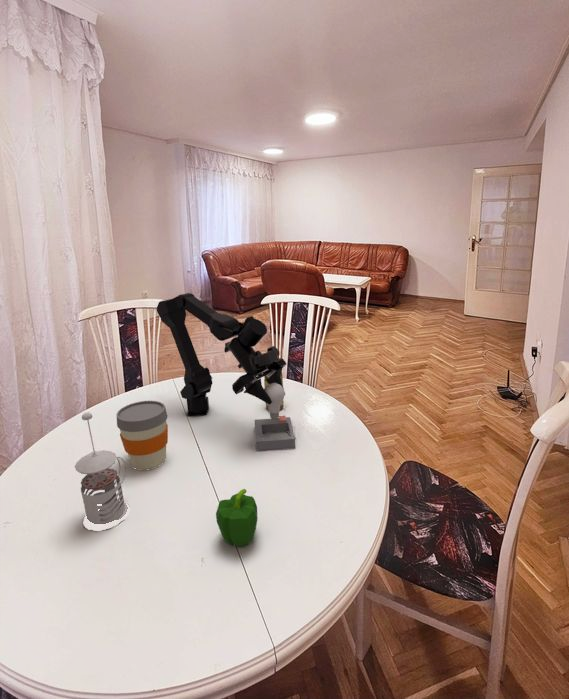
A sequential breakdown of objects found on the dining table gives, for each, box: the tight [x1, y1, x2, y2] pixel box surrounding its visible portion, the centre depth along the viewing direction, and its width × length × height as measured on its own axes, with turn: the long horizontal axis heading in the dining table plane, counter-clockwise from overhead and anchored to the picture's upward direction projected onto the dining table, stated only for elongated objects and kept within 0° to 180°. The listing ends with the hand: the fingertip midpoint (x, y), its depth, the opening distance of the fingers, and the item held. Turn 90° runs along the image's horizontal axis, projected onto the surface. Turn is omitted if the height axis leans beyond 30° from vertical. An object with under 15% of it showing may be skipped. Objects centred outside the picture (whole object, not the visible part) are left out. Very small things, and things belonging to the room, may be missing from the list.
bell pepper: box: [215, 488, 258, 548], centre depth 79 cm, size 8×8×10 cm
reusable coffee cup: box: [116, 400, 169, 471], centre depth 106 cm, size 13×13×15 cm
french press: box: [74, 411, 128, 524], centre depth 85 cm, size 10×12×25 cm
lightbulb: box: [263, 383, 286, 420], centre depth 113 cm, size 6×6×11 cm
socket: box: [254, 415, 296, 452], centre depth 117 cm, size 11×13×4 cm
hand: (277, 399), depth 112 cm, fingers closed on lightbulb, 6 cm apart
